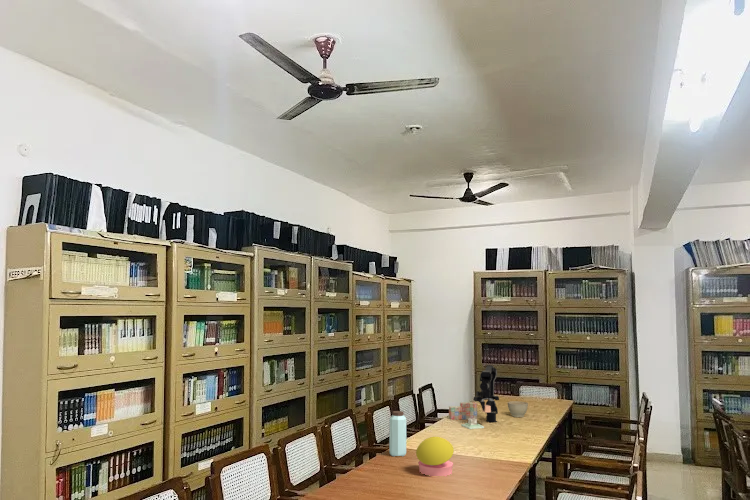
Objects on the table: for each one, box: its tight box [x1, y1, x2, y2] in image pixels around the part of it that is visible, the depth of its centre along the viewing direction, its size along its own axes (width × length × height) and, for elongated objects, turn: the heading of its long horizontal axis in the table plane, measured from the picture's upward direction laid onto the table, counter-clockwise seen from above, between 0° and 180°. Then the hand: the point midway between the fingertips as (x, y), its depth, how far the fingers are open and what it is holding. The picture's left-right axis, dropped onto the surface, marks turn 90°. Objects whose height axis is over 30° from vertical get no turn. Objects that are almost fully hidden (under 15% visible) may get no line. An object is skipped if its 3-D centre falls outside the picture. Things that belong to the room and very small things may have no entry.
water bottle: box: [388, 410, 407, 457], centre depth 342 cm, size 10×10×25 cm
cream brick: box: [467, 418, 478, 425], centre depth 423 cm, size 4×4×4 cm
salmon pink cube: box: [481, 404, 491, 414], centre depth 424 cm, size 4×4×4 cm
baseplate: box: [461, 422, 485, 430], centre depth 423 cm, size 12×12×2 cm
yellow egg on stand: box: [415, 436, 455, 477], centre depth 306 cm, size 20×18×20 cm
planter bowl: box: [507, 400, 529, 418], centre depth 466 cm, size 16×16×11 cm
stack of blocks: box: [448, 401, 478, 420], centre depth 455 cm, size 21×6×12 cm, turn 98°
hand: (486, 410), depth 423 cm, fingers closed on salmon pink cube, 4 cm apart
